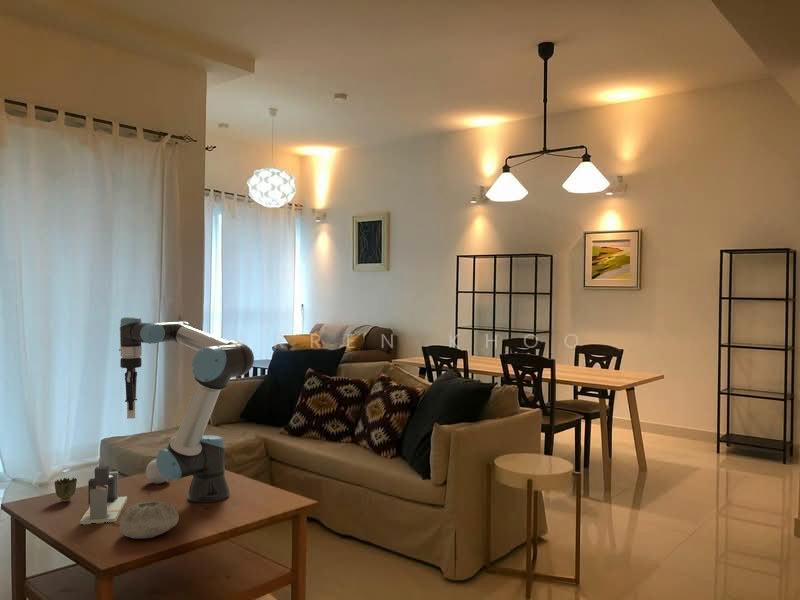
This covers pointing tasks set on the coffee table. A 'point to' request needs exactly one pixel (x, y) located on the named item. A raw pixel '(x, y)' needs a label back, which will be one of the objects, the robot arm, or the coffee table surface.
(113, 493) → the collar
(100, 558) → the coffee table surface
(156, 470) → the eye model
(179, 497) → the coffee table surface
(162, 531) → the grey stone
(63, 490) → the cup
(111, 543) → the coffee table surface
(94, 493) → the pipe stand
